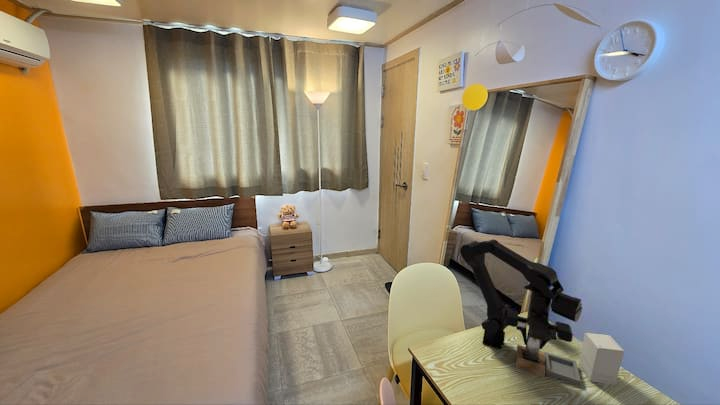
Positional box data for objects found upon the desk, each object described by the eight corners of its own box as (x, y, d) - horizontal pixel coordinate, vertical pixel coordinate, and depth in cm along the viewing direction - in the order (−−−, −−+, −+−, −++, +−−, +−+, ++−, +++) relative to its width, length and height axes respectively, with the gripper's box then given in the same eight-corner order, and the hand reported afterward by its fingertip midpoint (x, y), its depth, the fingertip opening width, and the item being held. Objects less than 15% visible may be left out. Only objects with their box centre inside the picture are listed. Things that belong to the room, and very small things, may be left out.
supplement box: (616, 385, 90) (625, 351, 87) (589, 381, 91) (597, 348, 88) (602, 366, 97) (610, 334, 94) (577, 363, 98) (584, 331, 95)
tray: (545, 374, 94) (546, 370, 94) (543, 356, 102) (544, 351, 101) (579, 385, 90) (580, 381, 89) (575, 365, 98) (576, 361, 97)
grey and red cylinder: (524, 357, 97) (528, 334, 95) (524, 349, 100) (528, 326, 98) (538, 361, 95) (542, 338, 93) (537, 353, 98) (541, 330, 96)
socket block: (516, 367, 97) (517, 359, 96) (516, 351, 104) (517, 344, 103) (544, 376, 93) (545, 368, 93) (542, 359, 100) (543, 352, 99)
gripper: (506, 310, 90) (500, 352, 94) (579, 329, 82) (570, 374, 86) (507, 293, 100) (502, 331, 104) (573, 308, 91) (565, 349, 95)
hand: (532, 346), depth 97 cm, fingers closed on grey and red cylinder, 4 cm apart
